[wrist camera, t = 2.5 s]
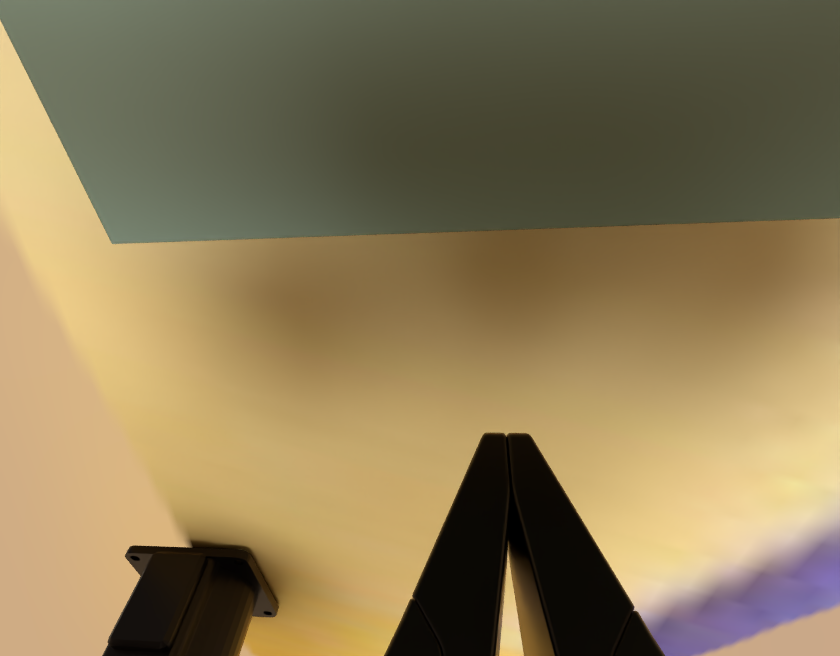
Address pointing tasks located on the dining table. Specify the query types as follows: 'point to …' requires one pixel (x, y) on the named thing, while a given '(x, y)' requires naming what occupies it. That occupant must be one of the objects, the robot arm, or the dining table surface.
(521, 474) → the robot arm
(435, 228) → the grey-green rectangular block
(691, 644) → the dining table surface
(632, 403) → the dining table surface
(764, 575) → the dining table surface
